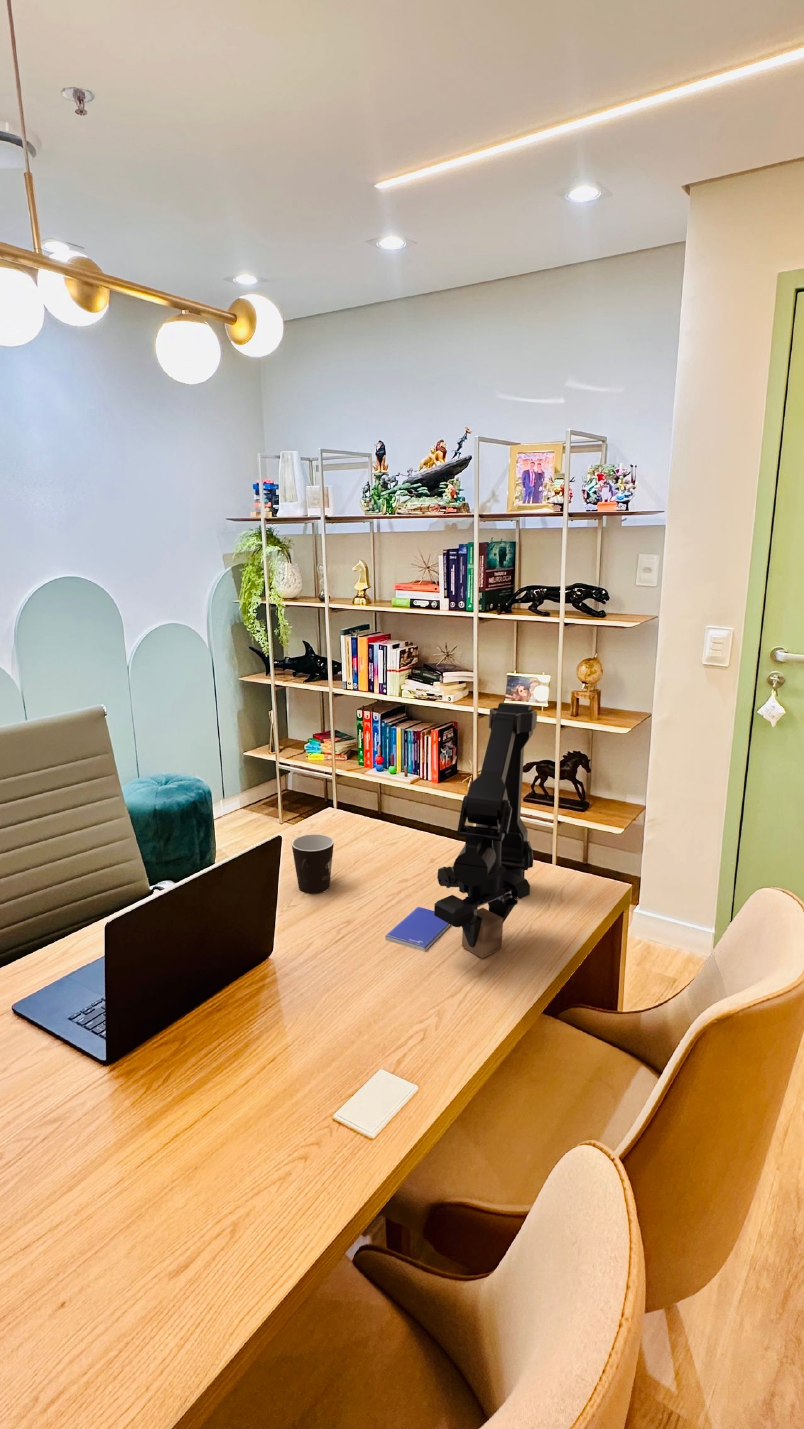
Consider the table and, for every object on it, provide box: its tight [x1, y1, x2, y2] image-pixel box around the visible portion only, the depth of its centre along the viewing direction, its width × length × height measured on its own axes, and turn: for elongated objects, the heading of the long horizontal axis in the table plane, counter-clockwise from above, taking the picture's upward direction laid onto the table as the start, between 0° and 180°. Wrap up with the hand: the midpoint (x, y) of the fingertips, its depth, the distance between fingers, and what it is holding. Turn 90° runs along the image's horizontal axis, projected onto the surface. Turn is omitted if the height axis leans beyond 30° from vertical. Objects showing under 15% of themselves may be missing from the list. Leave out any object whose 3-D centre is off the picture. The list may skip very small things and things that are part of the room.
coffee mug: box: [291, 833, 335, 895], centre depth 159 cm, size 12×9×10 cm
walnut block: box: [461, 906, 504, 959], centre depth 138 cm, size 5×5×6 cm
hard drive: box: [384, 906, 451, 953], centre depth 145 cm, size 2×8×12 cm
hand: (482, 941), depth 138 cm, fingers closed on walnut block, 5 cm apart
